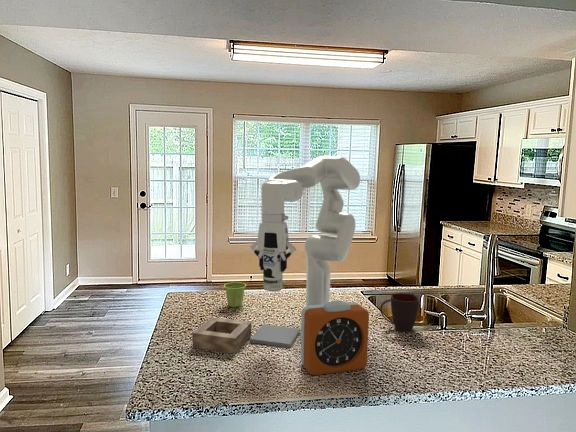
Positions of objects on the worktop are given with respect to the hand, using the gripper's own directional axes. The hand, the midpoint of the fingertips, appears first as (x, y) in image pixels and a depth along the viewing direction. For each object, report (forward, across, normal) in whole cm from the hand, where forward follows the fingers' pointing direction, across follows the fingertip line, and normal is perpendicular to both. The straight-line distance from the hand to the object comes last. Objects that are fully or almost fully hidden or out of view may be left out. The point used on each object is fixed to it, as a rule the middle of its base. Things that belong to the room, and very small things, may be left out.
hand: (272, 269), depth 154 cm
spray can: (+7, 0, 0) cm, 7 cm away
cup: (+25, -42, -22) cm, 53 cm away
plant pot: (+25, +25, -26) cm, 44 cm away
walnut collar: (+24, +15, +9) cm, 30 cm away
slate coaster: (+24, -1, 0) cm, 24 cm away
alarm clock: (+24, -24, +16) cm, 38 cm away
